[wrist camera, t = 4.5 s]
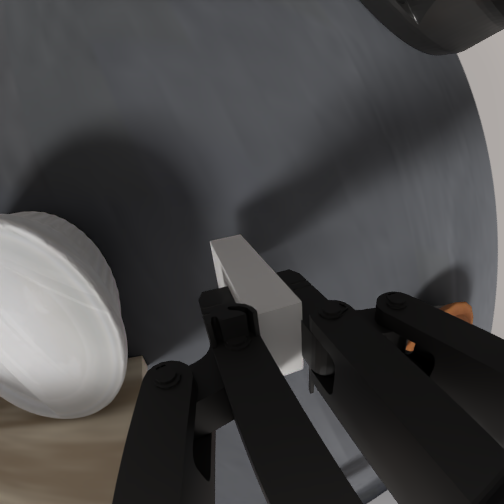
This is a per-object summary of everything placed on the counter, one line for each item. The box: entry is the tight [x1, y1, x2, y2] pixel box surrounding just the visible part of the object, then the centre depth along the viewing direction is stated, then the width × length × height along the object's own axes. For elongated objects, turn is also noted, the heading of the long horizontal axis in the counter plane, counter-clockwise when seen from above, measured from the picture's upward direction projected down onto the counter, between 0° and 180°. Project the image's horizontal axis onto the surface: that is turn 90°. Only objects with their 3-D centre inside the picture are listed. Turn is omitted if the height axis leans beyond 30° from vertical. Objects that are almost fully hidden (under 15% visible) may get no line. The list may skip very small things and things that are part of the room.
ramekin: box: [0, 211, 128, 419], centre depth 11 cm, size 11×11×5 cm
